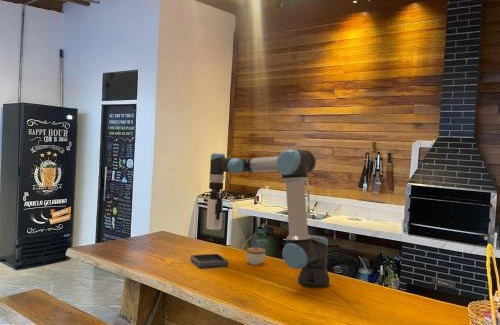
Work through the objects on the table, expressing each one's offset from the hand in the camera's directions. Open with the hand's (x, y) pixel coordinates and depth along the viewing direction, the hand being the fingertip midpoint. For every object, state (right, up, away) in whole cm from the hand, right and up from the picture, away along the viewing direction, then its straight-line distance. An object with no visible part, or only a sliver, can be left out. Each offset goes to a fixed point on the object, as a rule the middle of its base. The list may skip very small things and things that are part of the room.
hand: (214, 223), depth 231 cm
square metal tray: (-3, -22, +1) cm, 22 cm away
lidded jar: (+22, -23, +6) cm, 33 cm away
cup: (0, -3, 0) cm, 3 cm away
